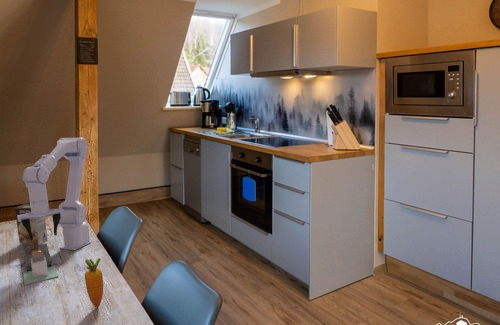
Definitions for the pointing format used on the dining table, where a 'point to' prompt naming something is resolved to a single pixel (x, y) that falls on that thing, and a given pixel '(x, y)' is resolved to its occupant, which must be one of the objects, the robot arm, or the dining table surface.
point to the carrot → (94, 282)
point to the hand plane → (36, 253)
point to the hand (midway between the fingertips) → (43, 236)
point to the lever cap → (39, 266)
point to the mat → (29, 277)
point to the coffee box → (36, 227)
